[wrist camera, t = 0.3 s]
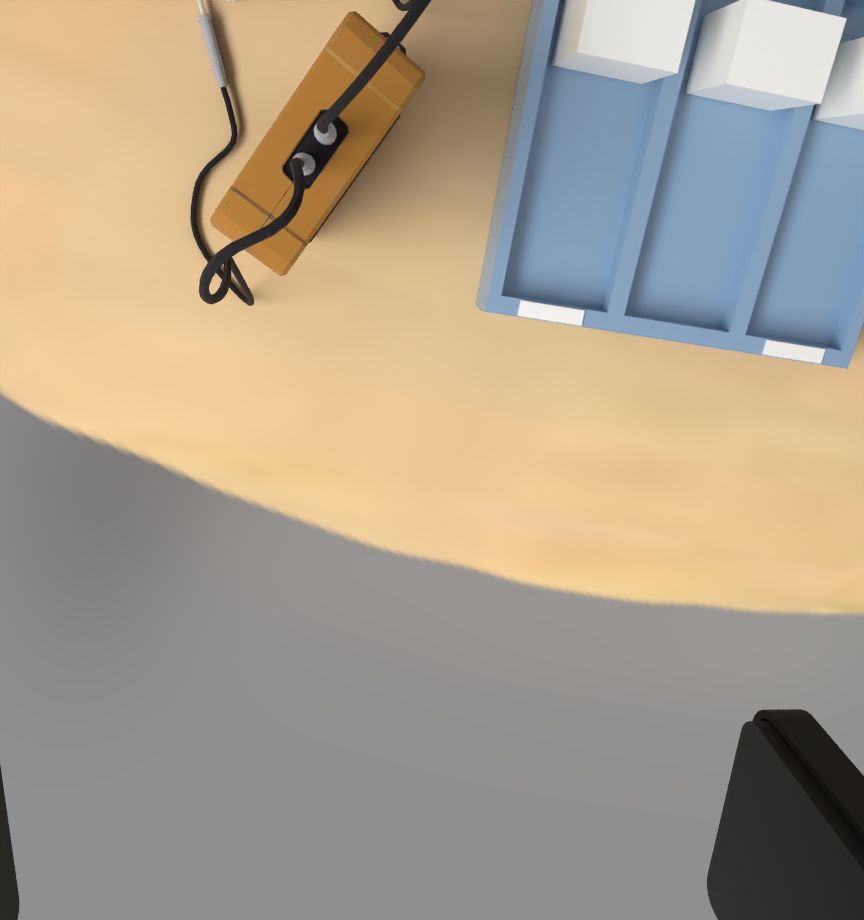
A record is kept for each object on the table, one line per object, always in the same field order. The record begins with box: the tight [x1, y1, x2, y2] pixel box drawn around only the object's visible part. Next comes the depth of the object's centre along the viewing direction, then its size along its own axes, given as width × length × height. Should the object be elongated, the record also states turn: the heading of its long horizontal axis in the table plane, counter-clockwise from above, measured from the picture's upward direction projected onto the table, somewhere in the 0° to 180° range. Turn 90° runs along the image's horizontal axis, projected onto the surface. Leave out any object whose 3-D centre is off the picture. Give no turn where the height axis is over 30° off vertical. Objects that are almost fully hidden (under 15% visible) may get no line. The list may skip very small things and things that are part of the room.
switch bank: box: [476, 0, 864, 369], centre depth 36 cm, size 16×18×3 cm
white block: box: [552, 0, 695, 84], centre depth 31 cm, size 3×4×4 cm
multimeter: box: [191, 0, 431, 306], centre depth 25 cm, size 15×10×20 cm
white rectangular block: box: [685, 0, 847, 111], centre depth 32 cm, size 3×4×4 cm
